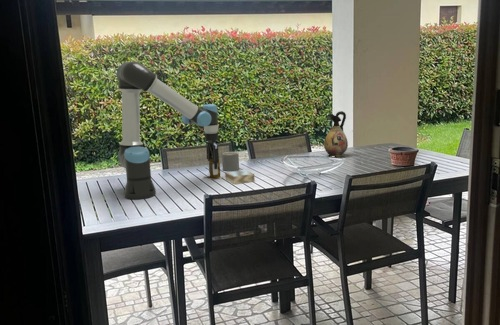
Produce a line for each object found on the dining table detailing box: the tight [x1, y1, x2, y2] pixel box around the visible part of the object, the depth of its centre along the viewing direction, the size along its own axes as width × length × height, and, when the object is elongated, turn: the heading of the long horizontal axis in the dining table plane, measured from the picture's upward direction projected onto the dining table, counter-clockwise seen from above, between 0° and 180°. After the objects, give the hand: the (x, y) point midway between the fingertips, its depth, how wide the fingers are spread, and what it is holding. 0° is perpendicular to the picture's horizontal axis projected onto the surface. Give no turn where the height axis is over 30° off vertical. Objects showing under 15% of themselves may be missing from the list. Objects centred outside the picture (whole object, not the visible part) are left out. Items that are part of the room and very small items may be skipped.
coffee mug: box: [221, 151, 240, 172], centre depth 274 cm, size 13×10×10 cm
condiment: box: [204, 156, 224, 180], centre depth 254 cm, size 7×8×12 cm
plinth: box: [224, 169, 255, 185], centre depth 246 cm, size 12×12×4 cm
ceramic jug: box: [323, 110, 349, 158], centre depth 299 cm, size 17×15×30 cm
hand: (213, 173), depth 255 cm, fingers closed on condiment, 6 cm apart
